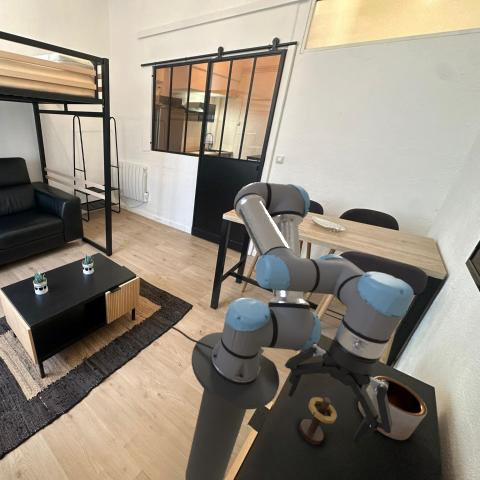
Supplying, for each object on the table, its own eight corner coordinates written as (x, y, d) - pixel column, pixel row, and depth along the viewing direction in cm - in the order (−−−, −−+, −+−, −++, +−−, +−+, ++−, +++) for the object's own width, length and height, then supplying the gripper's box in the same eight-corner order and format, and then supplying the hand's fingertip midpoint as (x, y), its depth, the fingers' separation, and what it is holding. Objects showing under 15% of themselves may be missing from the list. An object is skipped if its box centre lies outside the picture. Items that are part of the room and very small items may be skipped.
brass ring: (305, 410, 59) (306, 407, 59) (313, 395, 62) (314, 392, 62) (331, 429, 56) (333, 426, 55) (337, 412, 59) (339, 409, 59)
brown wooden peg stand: (296, 432, 62) (312, 398, 57) (303, 418, 66) (318, 385, 61) (318, 449, 59) (337, 416, 54) (324, 434, 62) (342, 401, 57)
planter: (414, 451, 60) (434, 427, 57) (359, 424, 65) (375, 400, 61) (403, 413, 69) (420, 389, 65) (355, 391, 74) (369, 368, 70)
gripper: (286, 320, 56) (263, 385, 65) (444, 404, 40) (386, 477, 49) (298, 307, 61) (275, 369, 70) (443, 377, 45) (391, 447, 53)
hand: (321, 414), depth 59 cm, fingers open, 13 cm apart
